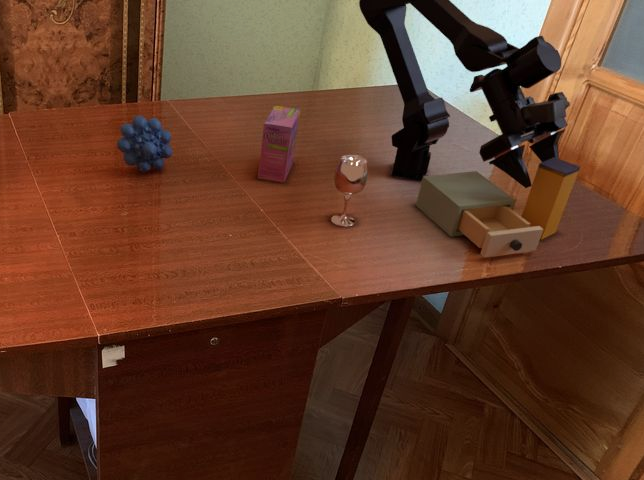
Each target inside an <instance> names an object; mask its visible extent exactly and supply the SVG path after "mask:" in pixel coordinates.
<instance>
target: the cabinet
mask: <svg viewBox="0 0 644 480" xmlns="http://www.w3.org/2000/svg"><path fill="white" fill-rule="evenodd" d="M515 203H516V198H514V197H512V196H511V195H510V194H508V193H507V192H506V191H504V190H503V189H502V188H500V187H499V186H497V185H496V184H495V183H493V182H492V181H491V180H489V179H488V178H487V177H485V176H484V175H483V174H482V173H480V172H478V171H477V170H474V171H473V170H472V171H464V172H463V171H462V172H454V173H444V174H443V173H442V174H434V175H433V174H432V175H424V176H423V179H422V181H421V183H420V187H419V191H418V195H417V199H416V203H415V206H416V207H417V208H418V209H419V210H420V211H422V213H424V214H425V215H426V216H427V217H428V218H429V219H430V220H432V222H434V223H435V224H436V225H437V226H438V227H439V228H440V229H441V230H443V231H444V232H445V233H446V234H447V235H448V236H449V237H451V238H452V237H458V236H459V237H460V236H465V235H464V234H463V233H462V232H461V231H459V230H458V229H457V226H458V222H459V219H460V215H461V212H462V210H466V209H475V208H483V207H492V206H501V205H507V206H508V207H509V208H510V209H512V210H513V211H514V207H515Z"/></svg>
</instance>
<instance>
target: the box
mask: <svg viewBox="0 0 644 480" xmlns="http://www.w3.org/2000/svg"><path fill="white" fill-rule="evenodd" d="M300 116H301V109H300V108H294V107H287V106H282V105H281V106H279V105H273V107H272V108H271V110H270V111H269V113H268V116H267V117H266V119H265V121H264V123H263V129H262V138H261V145H260V146H261V149H260V155H259V162H258V173H257V179H258V180H264V181H269V182H275V183H281V184H285V181H286V180H287V177H288V176H289V173H290V170H291V168H292V166H293V164H294V158H295V150H296V144H297V137H298V136H297V135H298V129H299V122H300Z"/></svg>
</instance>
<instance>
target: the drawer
mask: <svg viewBox="0 0 644 480" xmlns="http://www.w3.org/2000/svg"><path fill="white" fill-rule="evenodd" d="M521 216H522V215H520V214H519V213H517V212H516V211H515V210H514V209H513V210H512V209H510V208H509V207H508V206H507V205H501V206H492V207H483V208H475V209H466V210H462V212H461V215H460V219H459V222H458V226H457V229H458V230H459V231H461V232H462V233H463V234H464V235H463V236H465V237H466V238H467V239H469V241H471V242H472V243H473V244H474V245H475V246H477V247H478V248H479V249H481V251H480V256H482V257H483V258H490V257H491V258H492V257H498V256H499V257H500V256H505V255H512V254H513V255H514V254H521V253H529V252H536V251H537V248H538V245H539V243H540V237H541V235H542V232H543V228H541V227H540V226H535V227H530V223H529V222H528V221H526V220H525V219H524V218H522V217H521Z"/></svg>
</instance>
